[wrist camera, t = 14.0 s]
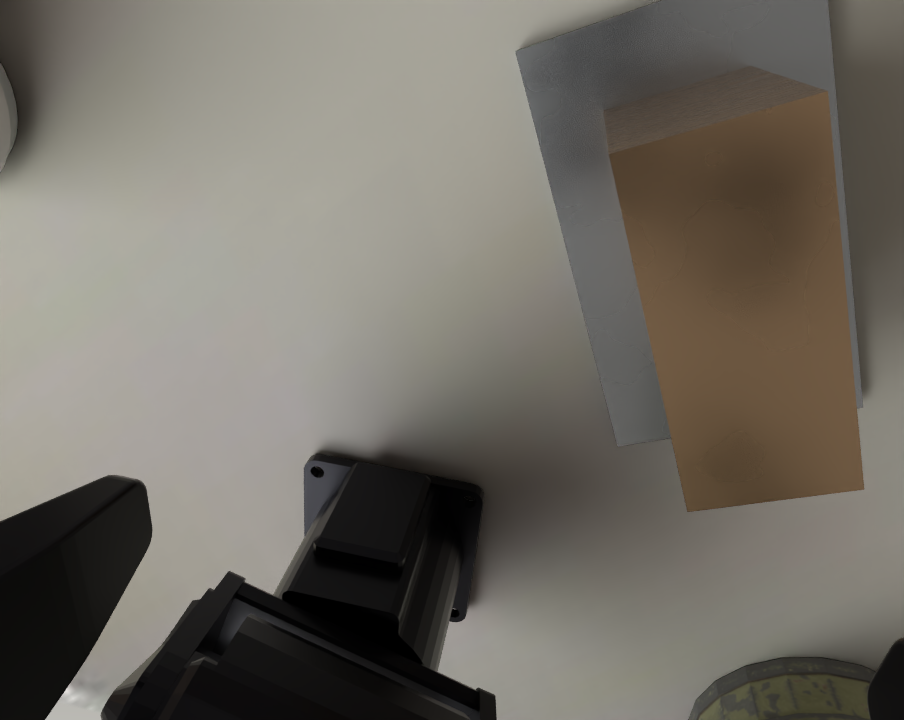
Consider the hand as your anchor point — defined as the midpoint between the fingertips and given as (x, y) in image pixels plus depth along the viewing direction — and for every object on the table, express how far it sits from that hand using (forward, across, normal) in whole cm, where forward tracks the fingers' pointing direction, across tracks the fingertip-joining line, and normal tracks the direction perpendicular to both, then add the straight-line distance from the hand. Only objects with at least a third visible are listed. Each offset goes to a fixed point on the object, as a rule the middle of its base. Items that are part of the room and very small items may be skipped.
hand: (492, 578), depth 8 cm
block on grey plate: (+13, -4, -1) cm, 14 cm away
